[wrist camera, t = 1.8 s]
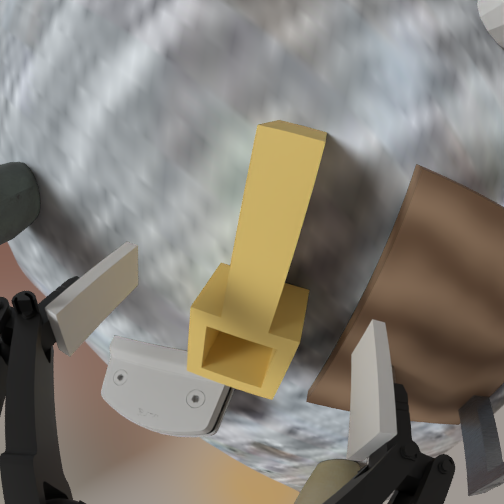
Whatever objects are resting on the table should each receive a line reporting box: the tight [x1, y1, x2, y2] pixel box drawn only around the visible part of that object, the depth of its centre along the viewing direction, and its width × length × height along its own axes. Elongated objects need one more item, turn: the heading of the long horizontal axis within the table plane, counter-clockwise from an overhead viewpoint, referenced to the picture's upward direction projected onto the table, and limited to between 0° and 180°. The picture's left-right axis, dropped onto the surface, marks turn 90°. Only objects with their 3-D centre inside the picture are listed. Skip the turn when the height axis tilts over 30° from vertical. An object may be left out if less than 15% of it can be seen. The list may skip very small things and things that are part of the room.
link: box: [187, 120, 327, 400], centre depth 20 cm, size 20×8×6 cm, turn 169°
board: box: [306, 164, 504, 425], centre depth 21 cm, size 25×22×2 cm
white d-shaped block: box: [101, 335, 235, 437], centre depth 30 cm, size 17×5×10 cm, turn 96°
